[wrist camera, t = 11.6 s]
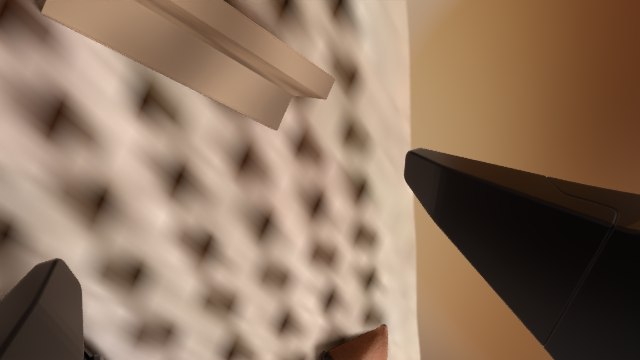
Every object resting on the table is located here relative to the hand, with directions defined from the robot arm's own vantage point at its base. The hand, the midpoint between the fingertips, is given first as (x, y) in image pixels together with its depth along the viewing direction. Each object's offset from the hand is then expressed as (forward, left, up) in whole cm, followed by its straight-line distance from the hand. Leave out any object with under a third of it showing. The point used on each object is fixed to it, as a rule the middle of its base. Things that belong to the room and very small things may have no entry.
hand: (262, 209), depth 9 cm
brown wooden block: (+3, +4, -12) cm, 13 cm away
